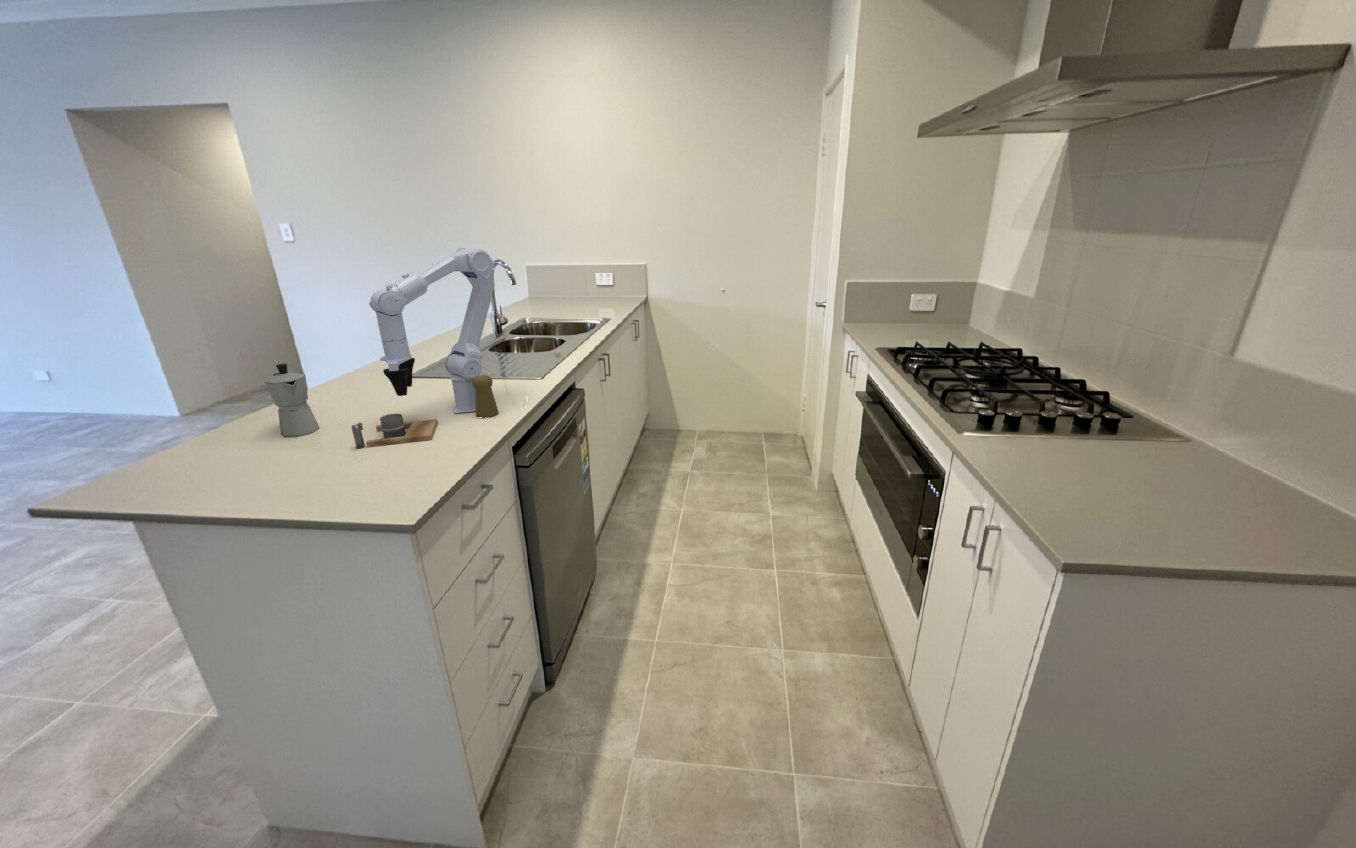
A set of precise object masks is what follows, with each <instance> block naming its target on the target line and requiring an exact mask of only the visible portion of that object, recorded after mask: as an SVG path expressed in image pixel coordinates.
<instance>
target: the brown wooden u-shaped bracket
mask: <svg viewBox="0 0 1356 848" xmlns="http://www.w3.org/2000/svg"><path fill="white" fill-rule="evenodd" d="M403 422H404V425H405V429H407V432H406V435H405V436H402V437H393V438H384V437H383V438H376V439H367V441H366V442H365V443H366V444H365V445H366V447H367V448H373V447H380V446H388V445H389V446H390V445H391V446H392V445H399V444H406V443H407V444H408V443H415V442H416V443H417V442H418V443H419V442H425V441H432V440H433V438H434V434H435V432H436V429H437V427H438V423H439V422H438V419H437V418H434V419H433V418H431V419H423V420H414V421H403ZM381 427H382V426H381V424H377V425H376V426H375V428H376V432H383V430H382V428H381Z"/></svg>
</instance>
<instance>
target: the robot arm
mask: <svg viewBox="0 0 1356 848" xmlns="http://www.w3.org/2000/svg"><path fill="white" fill-rule="evenodd" d="M494 264H495V262H494V261H493V259H492V257H491V255H489V253H488V252H487V251H486V250H484V249H482V248H476V249H475V248H466V247H460V248H457V249H455V251H451V252H449V253H448V254H447V255H445V256H444V257H443V258H441V259H439V260H438V261H437V262H435V263H434V264H432V265H431V266H429V267H427V268H426V269H425V270H423V271H422V272H420V273H418V274H417V273H414V272H410V273H407V272H405V273H402V275H401V277H402V278H400V279H398V280H396V281H395V282H393V283H388V284H386V285H385V289H377V290H374V292H373V293H372V295H370V301H369V303H368V304H369V306H370V308H371V309H372V310H373V311H374V312H375V315H376V320H377V327H378V330H379V335H380V340H381V343H382V348H383V353H384V356H381V357H380V358H379V359H380V362H385V363H386V364H387V367H388V368H384V369H383V370H382V372H383V375H384V376H385V377H386V378H387V379H388V380H389V382H390V383H391V386H392V387H393V389H394V392H395V394H396V396H398V397H402V396H408V388H410V387H412V386H413V372H414V371H413V369H414V364H415V360H416V359H415V357H412V354H411V353H410V348H409V347H410V346H409V341H408V338H407V332H406V327H405V323H404V322H405V321H404V319H403V311H404V309H405V307H406V306H407V305H409V304H410V303H412V302H414V301H415V300H417V299H419V298H421V296H423V295H425V294H426V293H427V291H428V287H429V286H430V285H431V284H433V283H435V282H437V281H439V280H441V279H442V278H444V277H446V276H448V275H450V274H453V273H454V272H460V273H461V274H462V275H464V277H465V278H466V279H467V280H468V282H469V283H470V285H471V290H470V291H471V292H470V296H469V299H468V303H467V307H466V311H465V315H464V318H463V321H462V322H463V323H462V327H461V330H460V334H459V338H458V341H457V342H456V343H455V344H453V346H452V347H451V350H450V352H449V353H448V355H447V356H446V358H445V360H444V368H445V370H446V371H447V372H448V373H449V374H450V378H451V385H452V390H453V396H454V401H455V407H454V410H453V413H454V414H463V413H470V412H471V413H473V412H476V389H475V388H474V387H473V384H472V380H473V378H474V377H476V376H480V374H481V373H482V368H483V367H482V357H483V355H482V352H481V350H480V348H479V346H480V343H481V339H482V335H483V331H484V327H485V325H486V320H487V316H488V313H489V310H490V309H489V308H490V305H491V302H492V298H493V295H494V294H493V293H494V291H495V277H494V271H493V269H494V266H495V265H494Z"/></svg>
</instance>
